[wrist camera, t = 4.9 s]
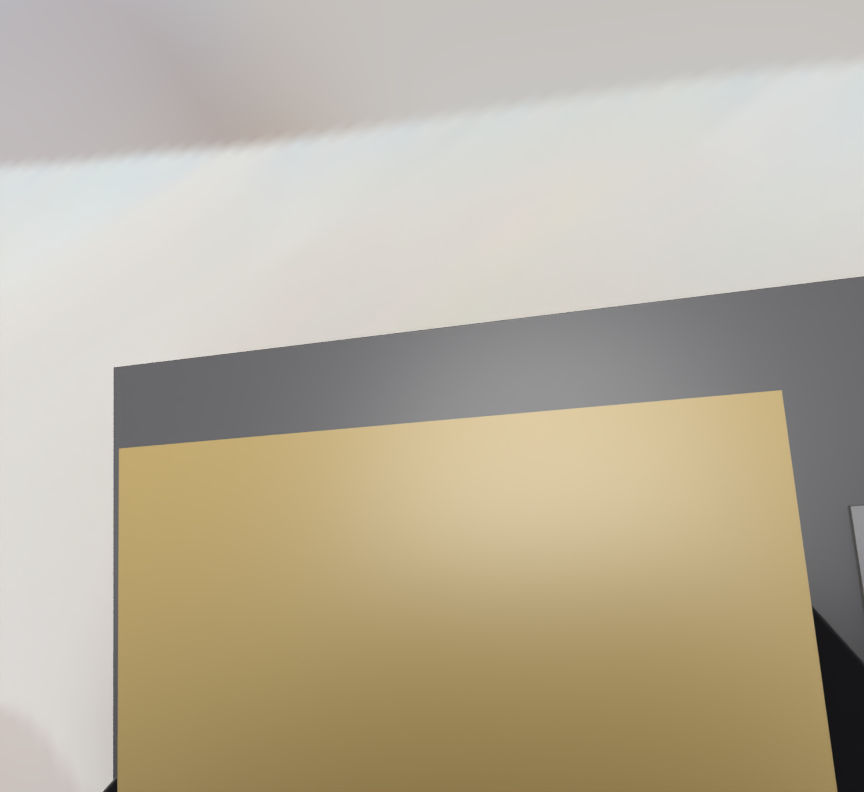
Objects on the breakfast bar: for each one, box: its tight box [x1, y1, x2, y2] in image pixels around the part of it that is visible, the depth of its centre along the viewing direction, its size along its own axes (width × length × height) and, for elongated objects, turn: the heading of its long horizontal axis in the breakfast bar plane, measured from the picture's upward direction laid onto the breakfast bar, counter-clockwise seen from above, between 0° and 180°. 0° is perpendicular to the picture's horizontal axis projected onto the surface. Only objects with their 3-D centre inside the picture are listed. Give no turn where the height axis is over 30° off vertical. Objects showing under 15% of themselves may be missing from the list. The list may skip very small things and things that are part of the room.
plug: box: [117, 390, 837, 792], centre depth 8 cm, size 4×4×10 cm
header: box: [113, 277, 864, 780], centre depth 13 cm, size 10×20×5 cm, turn 94°
